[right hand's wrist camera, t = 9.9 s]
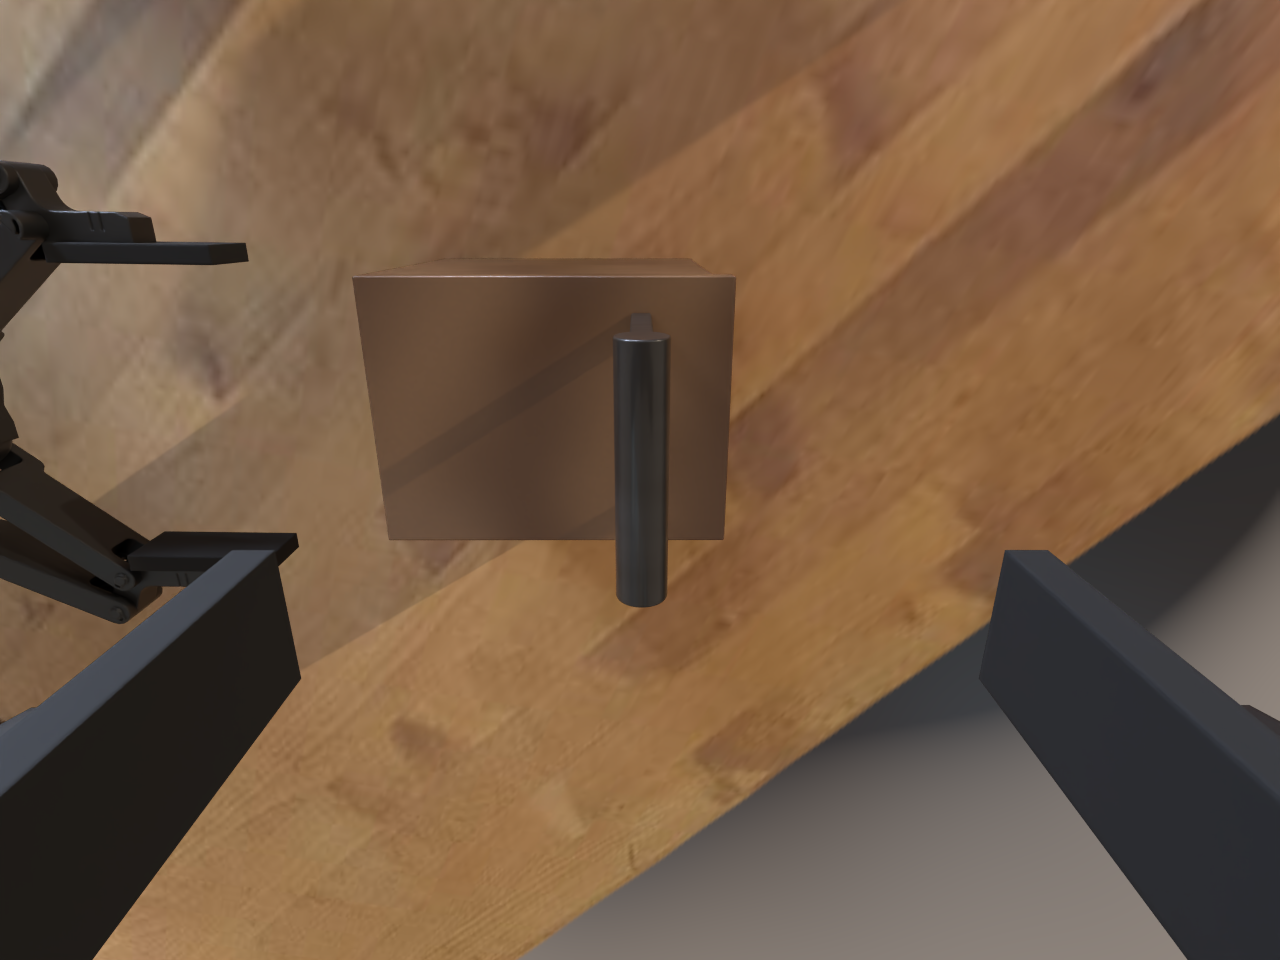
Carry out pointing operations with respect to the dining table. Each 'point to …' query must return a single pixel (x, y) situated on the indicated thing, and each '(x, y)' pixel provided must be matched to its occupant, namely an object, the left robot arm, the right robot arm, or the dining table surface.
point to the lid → (553, 409)
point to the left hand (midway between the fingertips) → (260, 414)
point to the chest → (552, 266)
